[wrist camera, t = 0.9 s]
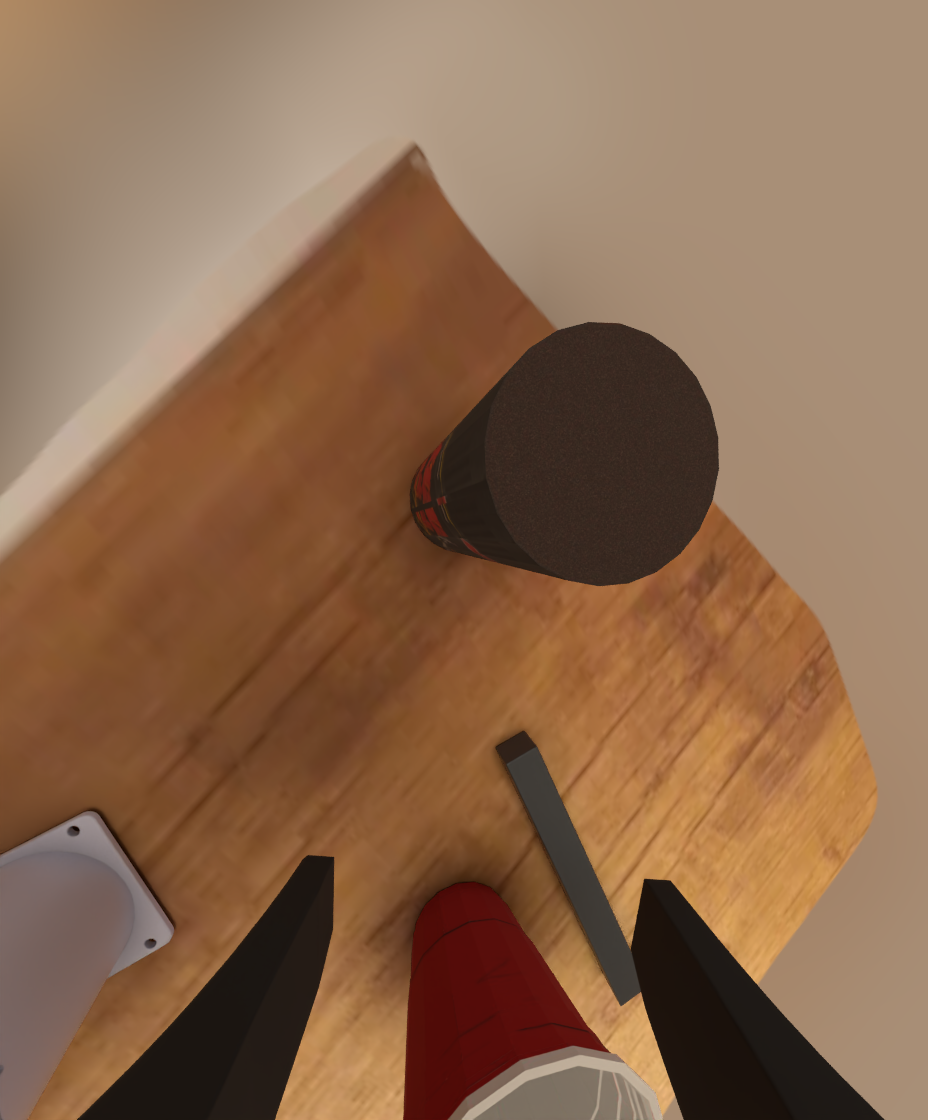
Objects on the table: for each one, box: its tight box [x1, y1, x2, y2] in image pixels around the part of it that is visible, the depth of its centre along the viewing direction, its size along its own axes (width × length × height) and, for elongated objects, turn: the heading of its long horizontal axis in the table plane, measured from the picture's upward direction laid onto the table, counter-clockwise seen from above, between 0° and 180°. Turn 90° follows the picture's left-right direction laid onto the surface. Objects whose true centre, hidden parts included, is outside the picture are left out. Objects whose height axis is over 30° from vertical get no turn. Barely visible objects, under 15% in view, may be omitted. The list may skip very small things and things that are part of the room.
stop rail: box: [496, 731, 641, 1006], centre depth 27 cm, size 2×18×2 cm, turn 24°
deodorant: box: [410, 322, 719, 586], centre depth 17 cm, size 6×6×15 cm
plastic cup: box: [403, 882, 663, 1120], centre depth 21 cm, size 11×11×12 cm
